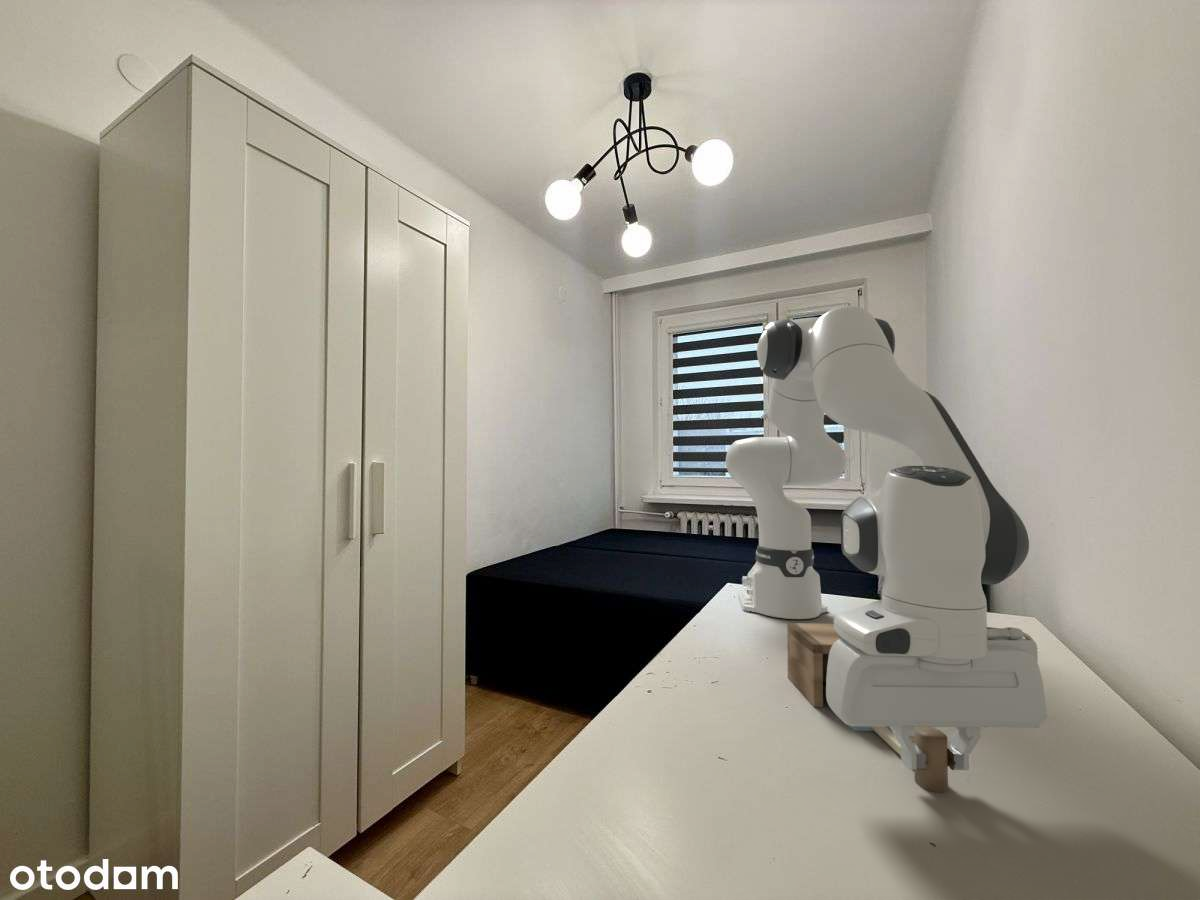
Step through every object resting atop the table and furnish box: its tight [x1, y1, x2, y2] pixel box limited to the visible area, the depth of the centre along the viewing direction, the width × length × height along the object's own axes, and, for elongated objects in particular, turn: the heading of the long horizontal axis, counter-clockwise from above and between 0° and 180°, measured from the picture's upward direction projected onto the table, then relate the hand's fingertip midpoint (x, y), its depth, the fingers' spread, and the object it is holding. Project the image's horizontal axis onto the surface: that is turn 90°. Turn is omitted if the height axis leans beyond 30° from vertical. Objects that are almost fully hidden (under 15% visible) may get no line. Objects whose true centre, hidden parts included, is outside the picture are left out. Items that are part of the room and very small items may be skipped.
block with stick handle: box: [849, 726, 949, 794], centre depth 57 cm, size 16×5×5 cm, turn 0°
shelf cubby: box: [786, 622, 842, 708], centre depth 71 cm, size 9×10×8 cm
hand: (934, 767), depth 49 cm, fingers closed on block with stick handle, 3 cm apart
